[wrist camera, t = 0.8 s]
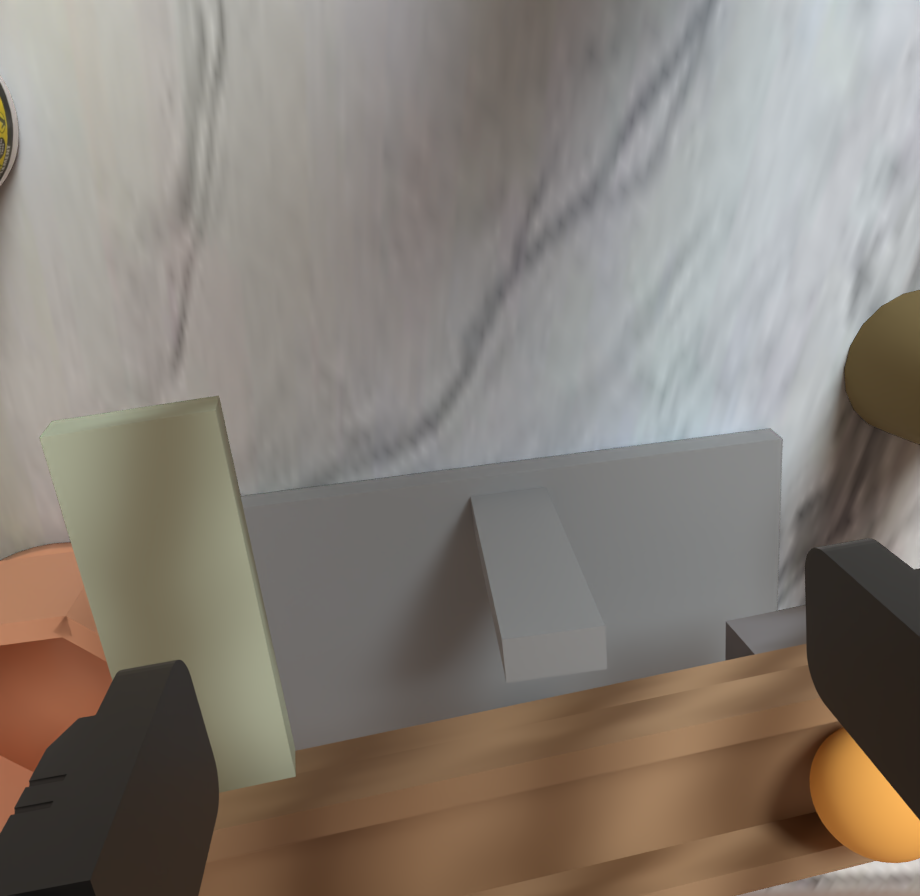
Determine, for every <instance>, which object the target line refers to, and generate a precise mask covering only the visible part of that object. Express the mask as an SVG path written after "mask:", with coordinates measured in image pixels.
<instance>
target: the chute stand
mask: <svg viewBox="0 0 920 896" xmlns="http://www.w3.org/2000/svg"><path fill="white" fill-rule="evenodd" d="M782 443H783V439H782V438H781V437H780V436H779V435H778V434H776V433H775V432H774V431H773V430H772V429H762V430H754V431H746V432H738V433H731V434H723V435H715V436H707V437H699V438H692V439H684V440H676V441H668V442H660V443H652V444H645V445H637V446H629V447H621V448H613V449H606V450H598V451H590V452H582V453H574V454H566V455H559V456H551V457H543V458H535V459H527V460H520V461H512V462H504V463H496V464H488V465H481V466H473V467H465V468H457V469H449V470H441V471H434V472H426V473H418V474H410V475H402V476H395V477H387V478H379V479H371V480H363V481H355V482H348V483H340V484H332V485H324V486H316V487H309V488H301V489H293V490H285V491H277V492H270V493H262V494H254V495H246V496H241V500H242V505H243V509H244V514H245V519H246V523H247V528H248V533H249V537H250V542H251V546H252V551H253V556H254V560H255V565H256V570H257V574H258V579H259V583H260V588H261V593H262V597H263V602H264V607H265V611H266V616H267V620H268V625H269V630H270V634H271V639H272V644H273V648H274V653H275V658H276V662H277V667H278V671H279V676H280V681H281V685H282V690H283V695H284V699H285V704H286V708H287V713H288V718H289V722H290V727H291V732H292V736H293V741H294V745H295V751H297V750H302V749H306V748H311V747H316V746H321V745H325V744H330V743H335V742H340V741H344V740H349V739H354V738H359V737H364V736H368V735H373V734H378V733H383V732H387V731H392V730H397V729H402V728H406V727H411V726H416V725H421V724H426V723H430V722H435V721H440V720H445V719H449V718H454V717H459V716H464V715H468V714H473V713H478V712H483V711H488V710H492V709H497V708H502V707H507V706H511V705H516V704H521V703H526V702H531V701H535V700H540V699H545V698H550V697H554V696H559V695H564V694H569V693H573V692H578V691H583V690H588V689H593V688H597V687H602V686H607V685H612V684H616V683H621V682H626V681H631V680H635V679H640V678H645V677H650V676H655V675H659V674H664V673H669V672H674V671H678V670H683V669H688V668H693V667H697V666H702V665H707V664H712V663H717V662H721V661H725V648H726V621H729V620H734V619H739V618H744V617H749V616H754V615H759V614H764V613H769V612H774V611H777V598H778V567H779V536H780V505H781V474H782Z"/></svg>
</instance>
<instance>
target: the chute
mask: <svg viewBox="0 0 920 896" xmlns="http://www.w3.org/2000/svg"><path fill="white" fill-rule="evenodd" d="M40 441H41V445H42V448H43V451H44V455H45V458H46V461H47V465H48V468H49V471H50V475H51V478H52V481H53V485H54V488H55V491H56V495H57V498H58V501H59V505H60V508H61V511H62V515H63V518H64V521H65V525H66V528H67V531H68V534H69V538H70V541H71V544H72V548H73V551H74V554H75V558H76V561H77V564H78V568H79V571H80V574H81V578H82V581H83V584H84V588H85V591H86V594H87V598H88V601H89V604H90V608H91V611H92V614H93V618H94V621H95V624H96V628H97V631H98V634H99V638H100V641H101V644H102V648H103V651H104V654H105V658H106V661H107V664H108V668H109V671H110V674H111V678H112V681H113V679H114V677H115V675H116V673H117V672H118V671H120V670H123V669H128V668H134V667H139V666H145V665H151V664H156V663H162V662H168V661H173V660H182V661H183V662H184V663H185V664H186V666H187V668H188V670H189V672H190V675H191V679H192V682H193V685H194V689H195V692H196V696H197V699H198V703H199V706H200V710H201V713H202V717H203V720H204V724H205V727H206V730H207V734H208V737H209V741H210V744H211V748H212V751H213V755H214V758H215V762H216V767H217V773H218V782H219V806H218V813H217V818H216V822H215V827H214V831H213V835H212V840H211V844H210V848H209V852H208V857H207V861H206V865H205V870H204V874H203V878H202V882H201V887H200V891H199V895H198V896H736V895H740V894H744V893H748V892H752V891H756V890H760V889H764V888H768V887H772V886H776V885H781V884H785V883H789V882H793V881H797V880H801V879H805V878H809V877H813V876H817V875H821V874H825V873H829V872H833V871H837V870H841V869H845V868H849V867H853V866H857V865H861V864H865V863H869V862H873V861H875V860H872V859H869V858H866V857H863V856H861V855H859V854H857V853H855V852H853V851H852V850H850V849H849V848H847V847H846V846H844V845H843V844H842V843H840V842H839V841H838V840H837V839H836V838H835V837H834V836H833V835H832V834H831V833H830V832H829V831H828V830H827V828H826V827H825V825H824V824H823V823H822V821H821V819H820V817H819V816H818V814H817V812H816V809H815V807H814V804H813V801H812V797H811V792H810V770H811V765H812V761H813V759H814V756H815V754H816V752H817V750H818V749H819V747H820V746H821V744H822V743H823V742H824V741H825V740H826V739H827V738H828V737H829V736H830V735H831V734H833V733H834V732H835V731H837V730H838V729H840V728H842V727H843V726H842V725H841V724H840V722H839V721H838V720H837V719H836V718H835V716H834V715H833V714H832V713H831V711H830V710H829V709H828V708H827V707H826V705H825V704H824V703H823V701H822V700H821V698H820V696H819V695H818V693H817V691H816V688H815V686H814V684H813V681H812V678H811V675H810V671H809V667H808V661H807V649H806V605H803V606H798V607H793V608H788V609H783V610H779V611H774V612H769V613H764V614H759V615H754V616H749V617H744V618H739V619H734V620H729V621H726V648H725V661H721V662H717V663H712V664H707V665H702V666H697V667H693V668H688V669H683V670H678V671H674V672H669V673H664V674H659V675H655V676H650V677H645V678H640V679H635V680H631V681H626V682H621V683H616V684H612V685H607V686H602V687H597V688H593V689H588V690H583V691H578V692H573V693H569V694H564V695H559V696H554V697H550V698H545V699H540V700H535V701H531V702H526V703H521V704H516V705H511V706H507V707H502V708H497V709H492V710H488V711H483V712H478V713H473V714H468V715H464V716H459V717H454V718H449V719H445V720H440V721H435V722H430V723H426V724H421V725H416V726H411V727H406V728H402V729H397V730H392V731H387V732H383V733H378V734H373V735H368V736H364V737H359V738H354V739H349V740H344V741H340V742H335V743H330V744H325V745H321V746H316V747H311V748H306V749H302V750H297V751H295V745H294V741H293V736H292V732H291V727H290V722H289V718H288V713H287V708H286V704H285V699H284V695H283V690H282V685H281V681H280V676H279V671H278V667H277V662H276V658H275V653H274V648H273V644H272V639H271V634H270V630H269V625H268V620H267V616H266V611H265V607H264V602H263V597H262V593H261V588H260V583H259V579H258V574H257V570H256V565H255V560H254V556H253V551H252V546H251V542H250V537H249V533H248V528H247V523H246V519H245V514H244V509H243V505H242V500H241V496H240V491H239V486H238V482H237V477H236V472H235V468H234V463H233V459H232V454H231V449H230V445H229V440H228V435H227V431H226V426H225V422H224V417H223V412H222V408H221V403H220V398H219V396H213V397H207V398H200V399H194V400H187V401H181V402H174V403H168V404H161V405H155V406H148V407H142V408H135V409H128V410H122V411H115V412H109V413H102V414H96V415H89V416H83V417H76V418H70V419H63V420H57V421H52V422H51V423H50V424H49V426H48V427H47V428H46V430H45V431H44V432H43V434H42V435H41V436H40Z"/></svg>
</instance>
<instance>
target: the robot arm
mask: <svg viewBox="0 0 920 896" xmlns="http://www.w3.org/2000/svg"><path fill="white" fill-rule="evenodd" d="M805 592H806V649H807V661H808V667H809V671H810V675H811V678H812V681H813V684H814V686H815V688H816V691H817V693H818V695H819V696H820V698H821V700H822V701H823V703H824V704H825V705H826V707H827V708H828V709H829V710H830V711H831V713H832V714H833V715H834V716H835V718H836V719H837V720H838V721H839V722H840V724H841V725H842V726H843V727H844V729H845V730H846V731H847V732H848V733H849V735H850V736H851V737H852V738H853V740H854V741H855V742H856V743H857V744H858V746H859V747H860V748H861V749H862V751H863V752H864V753H865V754H866V755H867V757H868V758H869V759H870V760H871V761H872V763H873V764H874V765H875V766H876V768H877V769H878V770H879V771H880V772H881V774H882V775H883V776H884V777H885V779H886V780H887V781H888V782H889V783H890V785H891V786H892V787H893V788H894V790H895V791H896V792H897V793H898V794H899V796H900V797H901V798H902V799H903V801H904V802H905V803H906V804H907V805H908V807H909V808H910V809H911V810H912V812H913V813H914V814H915V815H916V816H917V818H918V819H919V820H920V569H915V570H914V569H912V568H911V567H910V566H909V565H907V564H906V563H905V562H903V561H902V560H901V559H899V558H898V557H897V556H896V555H894V554H893V553H892V552H890V551H889V550H888V549H886V548H885V547H884V546H883V545H881V544H880V543H879V542H877V541H876V540H874V539H862V540H856V541H851V542H845V543H840V544H834V545H828V546H823V547H817V548H813V549H811V550H810V551H809V553H808V554H807V558H806V563H805ZM218 806H219V782H218V773H217V767H216V762H215V758H214V755H213V751H212V748H211V744H210V741H209V737H208V734H207V730H206V727H205V724H204V720H203V717H202V713H201V710H200V706H199V703H198V699H197V696H196V692H195V689H194V685H193V682H192V679H191V675H190V672H189V670H188V668H187V666H186V664H185V663H184V662H183V661H182V660H173V661H168V662H162V663H156V664H151V665H145V666H139V667H134V668H128V669H123V670H120V671H118V672H117V673H116V675H115V677H114V679H113V681H112V683H111V685H110V687H109V689H108V691H107V693H106V695H105V697H104V699H103V701H102V703H101V705H100V707H99V709H98V711H97V713H96V715H93V716H88V717H82V718H78V719H77V720H76V721H75V722H74V723H73V724H72V725H71V726H70V727H69V728H68V729H67V730H66V731H65V732H63V733H62V734H61V735H60V736H59V737H58V738H57V739H56V740H55V741H54V742H53V743H52V744H51V745H50V746H49V747H48V748H47V749H46V750H45V752H44V754H43V756H42V758H41V760H40V761H39V763H38V765H37V767H36V769H35V771H34V772H33V774H32V776H31V778H30V780H29V787H25V789H24V791H23V793H22V794H21V796H20V798H19V800H18V802H17V804H16V805H15V807H14V809H15V813H14V814H13V815H10V816H9V818H8V820H7V822H6V824H5V826H4V827H3V829H2V831H1V833H0V896H198V895H199V891H200V887H201V882H202V878H203V874H204V870H205V865H206V861H207V857H208V852H209V848H210V844H211V840H212V835H213V831H214V827H215V822H216V818H217V813H218Z"/></svg>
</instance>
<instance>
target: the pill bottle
mask: <svg viewBox="0 0 920 896" xmlns="http://www.w3.org/2000/svg"><path fill="white" fill-rule="evenodd" d="M18 139H19V131H18V120H17V114H16V110H15V106H14V102H13V99H12V97H11V94H10V92H9V90H8V88H7V86H6V84H5V82H4V80H3V79H2V77H1V75H0V186H1V184H2V183H3V182H4V180H5V179H6V177H7V176H8V174H9V172H10V170H11V168H12V166H13V163H14V161H15V157H16V154H17V149H18Z"/></svg>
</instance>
